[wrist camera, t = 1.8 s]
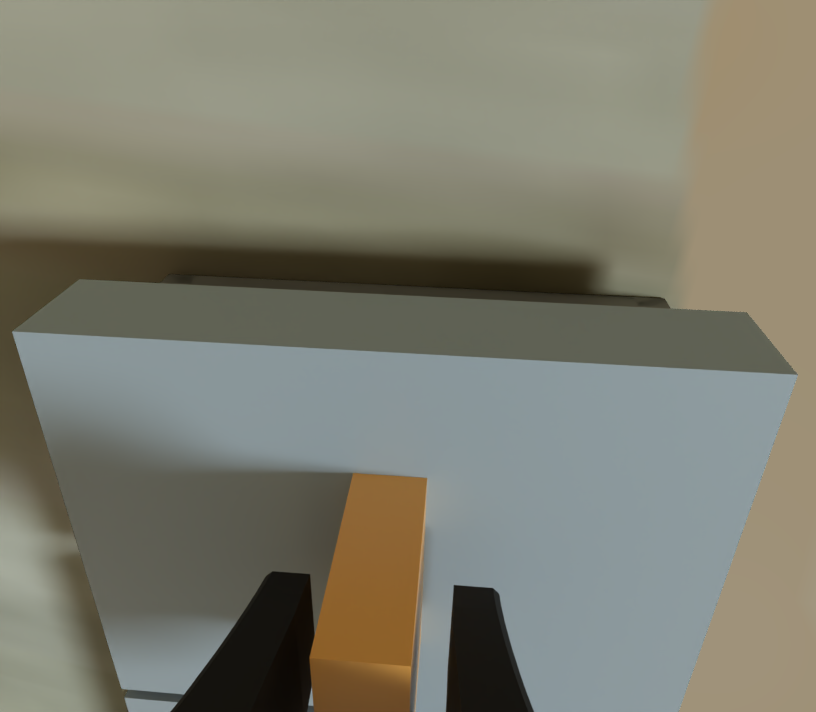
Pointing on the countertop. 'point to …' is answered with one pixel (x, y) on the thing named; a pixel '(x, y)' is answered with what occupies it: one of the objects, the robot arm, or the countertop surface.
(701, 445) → the tabbed lid segment
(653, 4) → the countertop surface
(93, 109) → the countertop surface
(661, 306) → the parts tub
